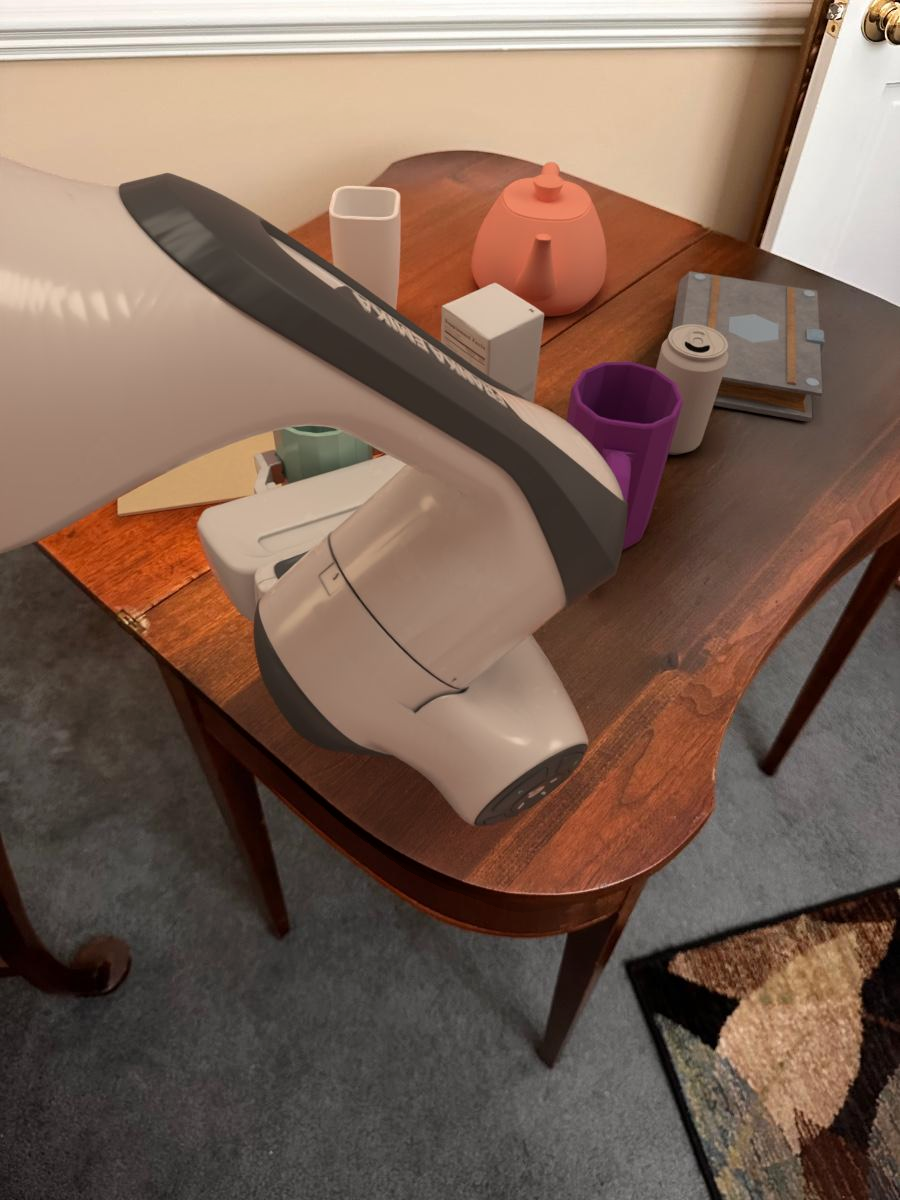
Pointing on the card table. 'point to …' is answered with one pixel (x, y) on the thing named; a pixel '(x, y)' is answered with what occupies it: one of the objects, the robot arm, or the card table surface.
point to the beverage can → (693, 378)
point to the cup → (367, 237)
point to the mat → (201, 480)
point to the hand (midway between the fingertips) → (318, 443)
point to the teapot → (543, 244)
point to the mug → (628, 429)
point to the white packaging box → (496, 336)
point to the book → (759, 341)
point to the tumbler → (317, 451)
